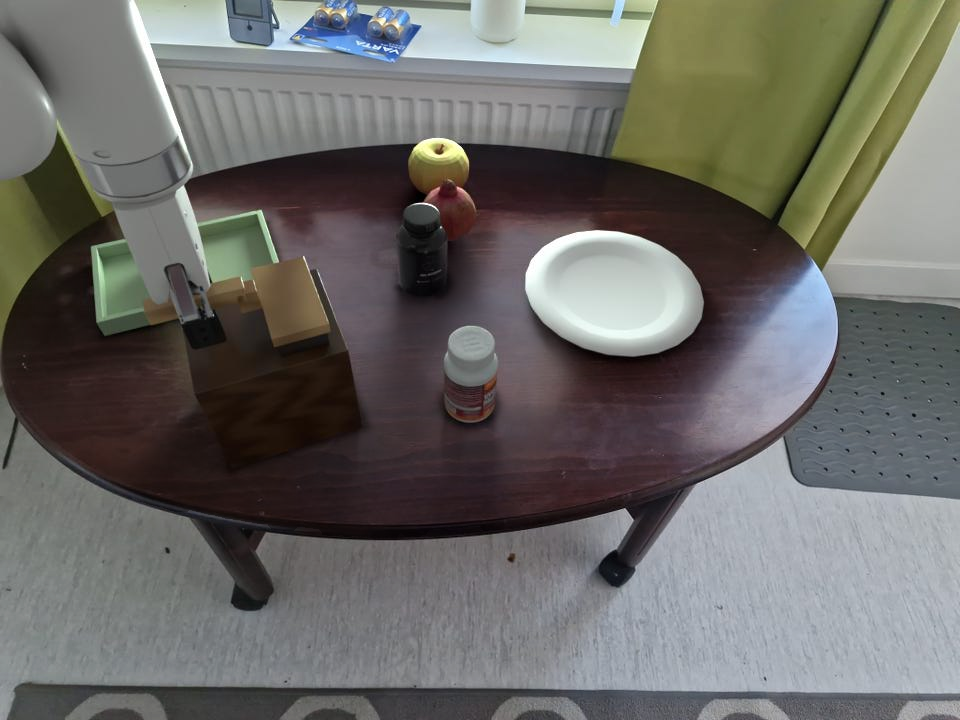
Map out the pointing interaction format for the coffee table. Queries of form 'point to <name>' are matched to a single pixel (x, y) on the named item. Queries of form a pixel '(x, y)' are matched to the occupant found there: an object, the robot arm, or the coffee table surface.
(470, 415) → the pill bottle
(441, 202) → the fruit
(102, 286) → the tray
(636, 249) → the plate
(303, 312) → the brush
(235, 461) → the stand
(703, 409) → the coffee table surface
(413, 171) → the apple
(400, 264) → the supplement bottle
